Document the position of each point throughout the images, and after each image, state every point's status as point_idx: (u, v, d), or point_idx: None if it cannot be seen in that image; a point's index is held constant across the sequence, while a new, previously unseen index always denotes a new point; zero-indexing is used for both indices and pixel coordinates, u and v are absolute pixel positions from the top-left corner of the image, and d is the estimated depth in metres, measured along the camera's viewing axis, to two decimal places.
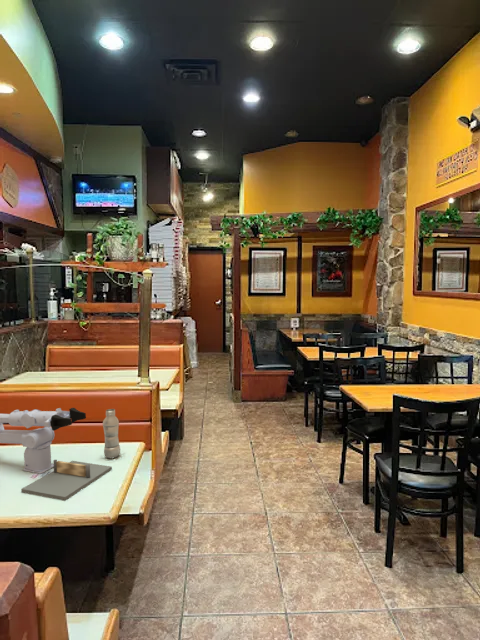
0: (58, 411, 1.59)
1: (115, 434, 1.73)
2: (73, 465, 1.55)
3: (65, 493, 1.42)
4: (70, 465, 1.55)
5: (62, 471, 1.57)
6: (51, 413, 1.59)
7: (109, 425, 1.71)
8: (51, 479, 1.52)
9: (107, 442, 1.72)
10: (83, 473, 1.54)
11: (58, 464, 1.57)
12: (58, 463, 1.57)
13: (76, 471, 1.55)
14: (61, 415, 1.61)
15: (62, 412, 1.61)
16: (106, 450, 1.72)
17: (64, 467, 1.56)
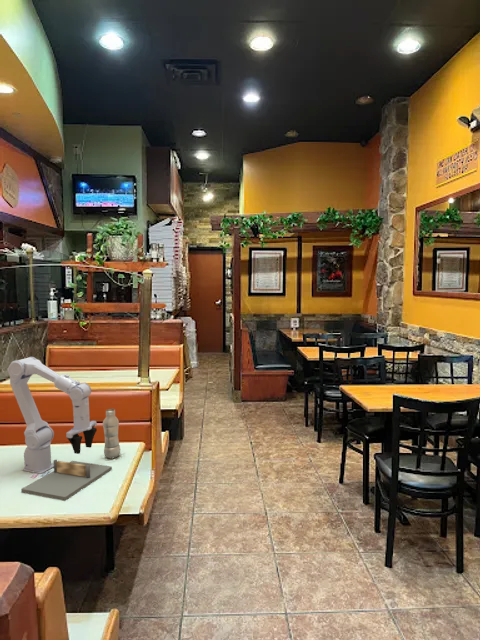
0: (87, 429, 1.59)
1: (115, 434, 1.73)
2: (73, 465, 1.55)
3: (65, 493, 1.42)
4: (70, 465, 1.55)
5: (62, 471, 1.57)
6: (84, 423, 1.58)
7: (109, 425, 1.71)
8: (51, 479, 1.52)
9: (107, 442, 1.72)
10: (83, 473, 1.54)
11: (58, 464, 1.57)
12: (58, 463, 1.57)
13: (76, 471, 1.55)
14: None
15: None
16: (106, 450, 1.72)
17: (64, 467, 1.56)
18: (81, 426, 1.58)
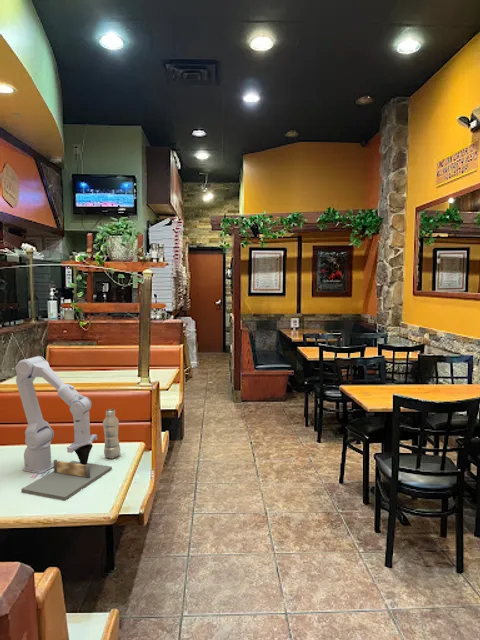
0: None
1: (115, 434, 1.73)
2: (73, 465, 1.55)
3: (65, 493, 1.42)
4: (70, 465, 1.55)
5: (62, 471, 1.57)
6: (85, 437, 1.59)
7: (109, 425, 1.71)
8: (51, 479, 1.52)
9: (107, 442, 1.72)
10: (83, 473, 1.54)
11: (58, 464, 1.57)
12: (58, 463, 1.57)
13: (76, 471, 1.55)
14: None
15: None
16: (106, 450, 1.72)
17: (64, 467, 1.56)
18: (82, 440, 1.58)
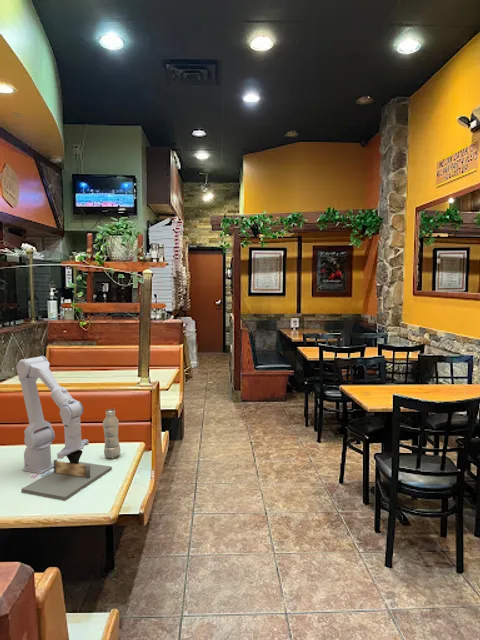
0: None
1: (115, 434, 1.73)
2: (73, 465, 1.55)
3: (65, 493, 1.42)
4: (70, 465, 1.55)
5: (61, 471, 1.57)
6: (76, 443, 1.54)
7: (109, 425, 1.71)
8: (51, 479, 1.52)
9: (107, 442, 1.72)
10: (83, 473, 1.54)
11: (57, 464, 1.57)
12: (57, 463, 1.57)
13: (76, 471, 1.55)
14: None
15: None
16: (106, 450, 1.72)
17: (64, 468, 1.56)
18: (72, 446, 1.53)
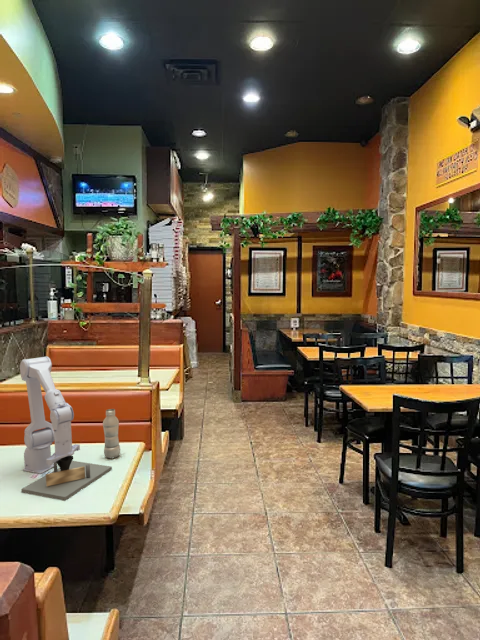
0: None
1: (115, 434, 1.73)
2: (70, 471, 1.50)
3: (65, 493, 1.42)
4: (66, 472, 1.49)
5: (54, 482, 1.48)
6: (66, 448, 1.49)
7: (109, 425, 1.71)
8: None
9: (107, 442, 1.72)
10: (83, 475, 1.52)
11: (49, 477, 1.47)
12: (49, 476, 1.47)
13: (74, 476, 1.51)
14: None
15: None
16: (106, 450, 1.72)
17: (58, 477, 1.48)
18: (62, 451, 1.48)
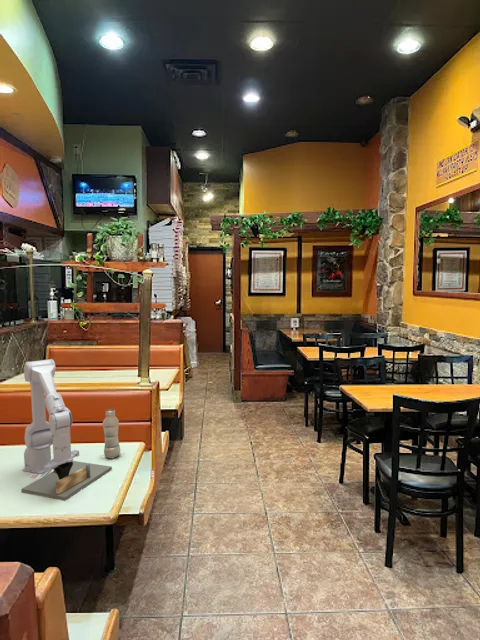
0: None
1: (115, 434, 1.73)
2: (76, 474, 1.48)
3: (65, 493, 1.42)
4: (73, 476, 1.46)
5: (64, 488, 1.43)
6: (65, 454, 1.43)
7: (109, 425, 1.71)
8: (51, 479, 1.52)
9: (107, 442, 1.72)
10: (85, 475, 1.52)
11: (60, 483, 1.41)
12: (60, 482, 1.41)
13: (79, 478, 1.49)
14: None
15: None
16: (106, 450, 1.72)
17: (67, 482, 1.44)
18: (61, 458, 1.43)
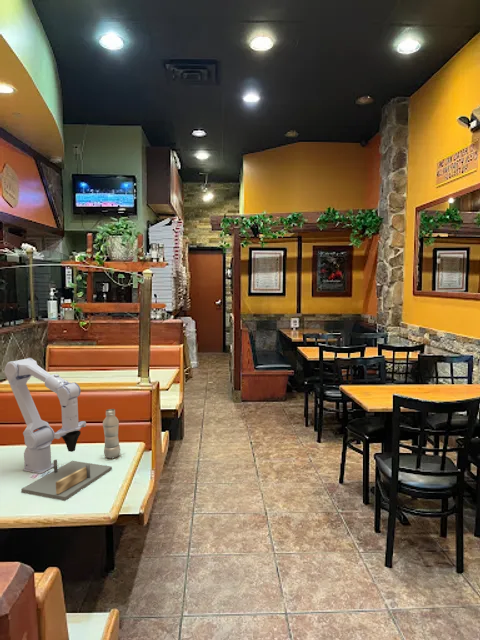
0: None
1: (115, 434, 1.73)
2: (76, 474, 1.48)
3: (65, 493, 1.42)
4: (73, 476, 1.46)
5: (64, 488, 1.43)
6: (72, 423, 1.55)
7: (109, 425, 1.71)
8: (51, 479, 1.52)
9: (107, 442, 1.72)
10: (85, 475, 1.52)
11: (60, 483, 1.41)
12: (60, 482, 1.41)
13: (79, 478, 1.49)
14: None
15: None
16: (106, 450, 1.72)
17: (67, 482, 1.44)
18: (69, 426, 1.55)
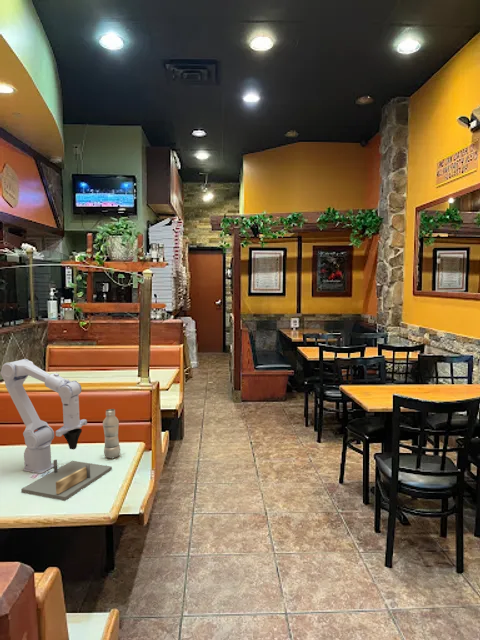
0: None
1: (115, 434, 1.73)
2: (76, 474, 1.48)
3: (65, 493, 1.42)
4: (73, 476, 1.46)
5: (64, 488, 1.43)
6: (74, 421, 1.57)
7: (109, 425, 1.71)
8: (51, 479, 1.52)
9: (107, 442, 1.72)
10: (85, 475, 1.52)
11: (60, 483, 1.41)
12: (60, 482, 1.41)
13: (79, 478, 1.49)
14: None
15: None
16: (106, 450, 1.72)
17: (67, 482, 1.44)
18: (71, 424, 1.57)
